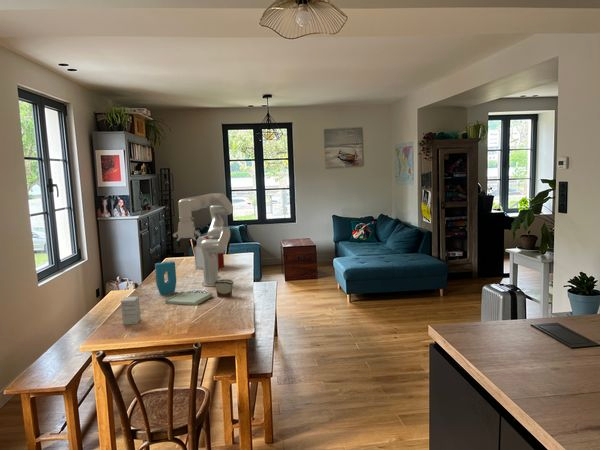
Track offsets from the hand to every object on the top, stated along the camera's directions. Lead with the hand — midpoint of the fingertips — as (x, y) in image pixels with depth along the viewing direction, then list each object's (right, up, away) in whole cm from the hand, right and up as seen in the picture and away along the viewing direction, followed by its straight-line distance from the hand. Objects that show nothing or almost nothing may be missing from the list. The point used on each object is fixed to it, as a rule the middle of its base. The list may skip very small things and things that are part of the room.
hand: (187, 246), depth 276 cm
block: (-15, -31, +9) cm, 36 cm away
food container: (+25, -31, -3) cm, 40 cm away
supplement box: (-17, -37, -47) cm, 62 cm away
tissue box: (-3, -22, +85) cm, 88 cm away
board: (+3, -32, -8) cm, 33 cm away
